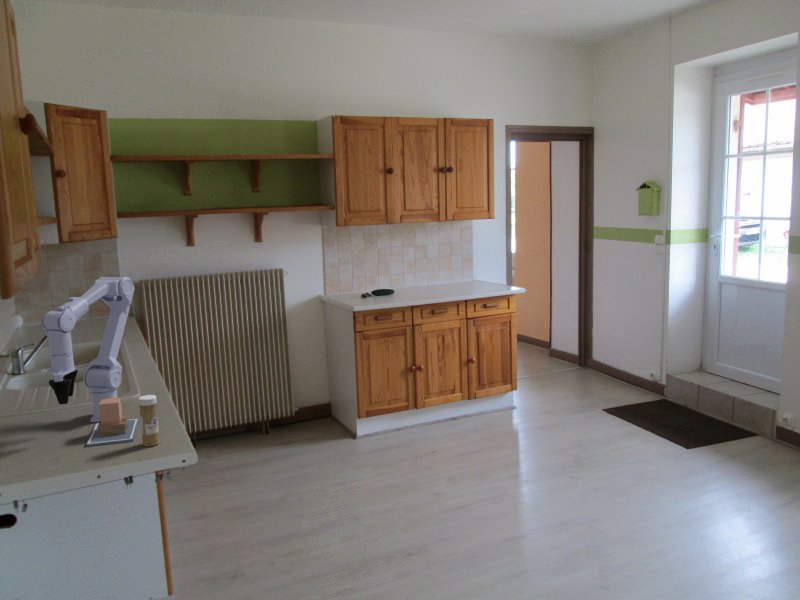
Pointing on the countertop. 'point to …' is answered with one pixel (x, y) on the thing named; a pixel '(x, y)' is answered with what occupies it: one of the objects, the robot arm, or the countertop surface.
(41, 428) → the countertop surface
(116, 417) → the terracotta block
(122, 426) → the walnut base block
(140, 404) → the sprinkles bottle
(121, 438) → the board
